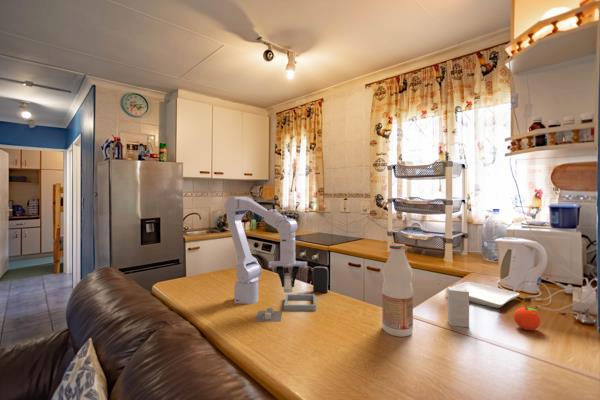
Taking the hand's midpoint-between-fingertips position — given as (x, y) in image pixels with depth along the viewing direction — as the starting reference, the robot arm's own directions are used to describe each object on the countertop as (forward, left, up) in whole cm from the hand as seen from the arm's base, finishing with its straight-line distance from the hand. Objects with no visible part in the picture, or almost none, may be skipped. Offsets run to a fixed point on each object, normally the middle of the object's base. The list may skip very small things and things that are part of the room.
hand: (288, 286), depth 111 cm
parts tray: (+4, +5, -9) cm, 11 cm away
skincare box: (+58, -10, -10) cm, 60 cm away
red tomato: (+79, -14, -10) cm, 81 cm away
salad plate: (+81, +15, -10) cm, 83 cm away
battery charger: (+13, +23, -10) cm, 28 cm away
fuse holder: (-7, -6, -9) cm, 13 cm away
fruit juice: (+36, -15, -10) cm, 41 cm away
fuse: (0, 0, -2) cm, 2 cm away
